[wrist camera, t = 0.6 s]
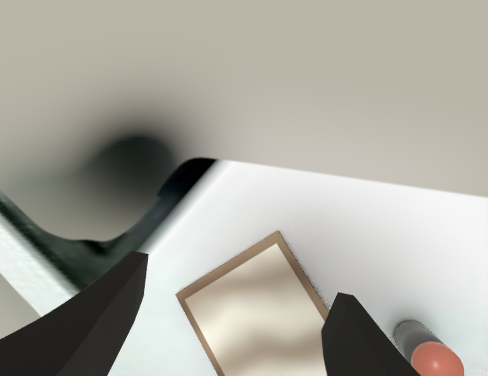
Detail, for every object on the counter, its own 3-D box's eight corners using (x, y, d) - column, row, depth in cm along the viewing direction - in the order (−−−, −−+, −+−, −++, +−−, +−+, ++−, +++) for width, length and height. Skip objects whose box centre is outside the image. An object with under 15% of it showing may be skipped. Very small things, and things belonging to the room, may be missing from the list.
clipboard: (390, 412, 31) (396, 426, 29) (275, 471, 33) (272, 490, 31) (278, 230, 35) (275, 231, 33) (179, 292, 37) (170, 296, 35)
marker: (436, 343, 31) (474, 380, 24) (405, 359, 32) (433, 401, 24) (415, 311, 32) (445, 338, 25) (384, 327, 32) (405, 359, 25)
